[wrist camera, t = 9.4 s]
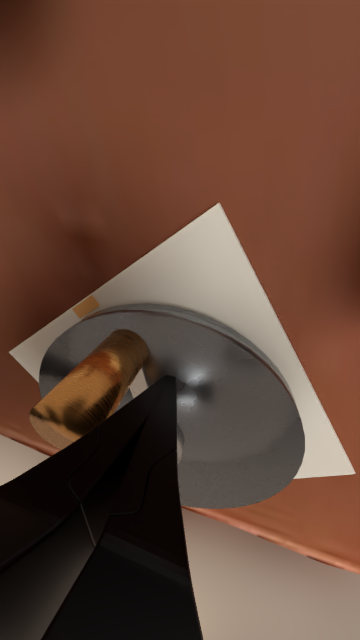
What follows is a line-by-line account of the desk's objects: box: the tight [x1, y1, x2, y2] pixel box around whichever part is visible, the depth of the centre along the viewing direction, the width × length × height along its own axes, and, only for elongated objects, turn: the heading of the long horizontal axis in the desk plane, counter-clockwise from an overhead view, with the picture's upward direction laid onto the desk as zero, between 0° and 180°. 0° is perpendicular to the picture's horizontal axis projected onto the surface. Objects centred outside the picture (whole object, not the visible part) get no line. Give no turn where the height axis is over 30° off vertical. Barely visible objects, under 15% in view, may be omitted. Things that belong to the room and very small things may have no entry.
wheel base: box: [9, 203, 356, 479], centre depth 16 cm, size 20×20×2 cm
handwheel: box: [29, 303, 305, 509], centre depth 13 cm, size 18×18×6 cm
